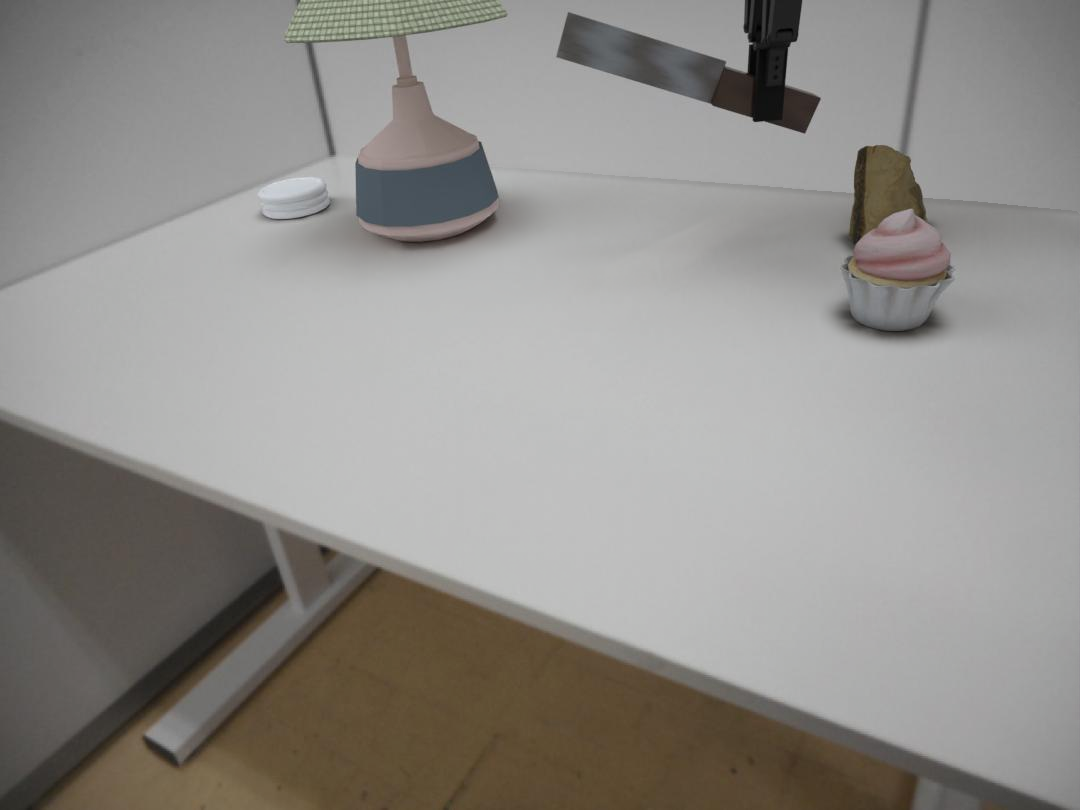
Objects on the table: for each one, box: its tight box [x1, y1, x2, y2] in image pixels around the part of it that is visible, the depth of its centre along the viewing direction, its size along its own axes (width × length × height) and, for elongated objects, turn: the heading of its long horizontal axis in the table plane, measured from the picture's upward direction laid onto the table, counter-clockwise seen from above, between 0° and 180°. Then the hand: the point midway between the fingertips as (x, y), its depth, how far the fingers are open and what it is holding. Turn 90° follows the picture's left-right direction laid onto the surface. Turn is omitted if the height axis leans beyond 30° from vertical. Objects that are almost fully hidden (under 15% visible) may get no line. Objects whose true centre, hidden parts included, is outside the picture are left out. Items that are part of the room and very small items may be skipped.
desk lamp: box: [282, 0, 509, 243], centre depth 89 cm, size 26×28×42 cm
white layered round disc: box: [257, 176, 331, 220], centre depth 111 cm, size 10×10×4 cm
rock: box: [848, 144, 928, 246], centre depth 81 cm, size 11×9×10 cm
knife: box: [555, 11, 822, 135], centre depth 73 cm, size 26×2×4 cm, turn 91°
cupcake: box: [839, 209, 957, 332], centre depth 65 cm, size 9×9×10 cm
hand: (763, 116), depth 75 cm, fingers closed on knife, 2 cm apart
